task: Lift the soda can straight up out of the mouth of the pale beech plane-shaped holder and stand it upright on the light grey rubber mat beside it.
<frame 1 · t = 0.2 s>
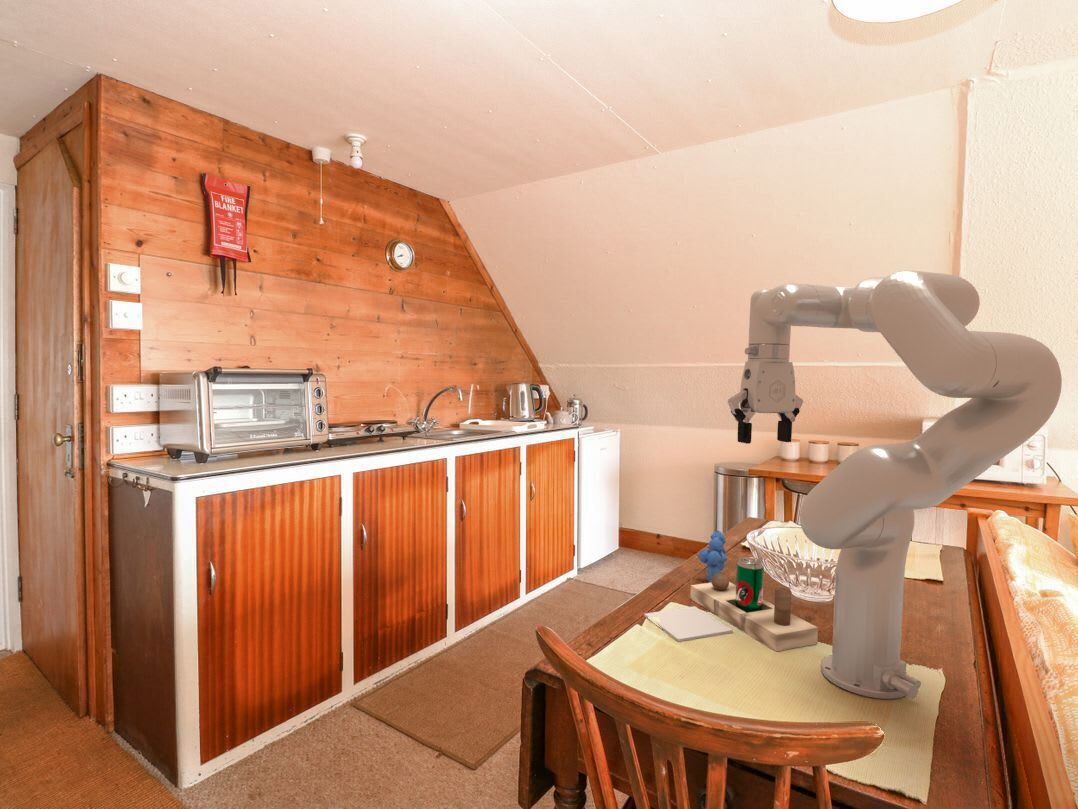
hand: (764, 442, 117), 35 cm above the table, tool pointing down, fingers open, 9 cm apart
grapes: (711, 583, 140), on the table
mat: (687, 624, 116), on the table
soda can: (748, 620, 119), resting in plane holder
plane holder: (748, 619, 119), on the table
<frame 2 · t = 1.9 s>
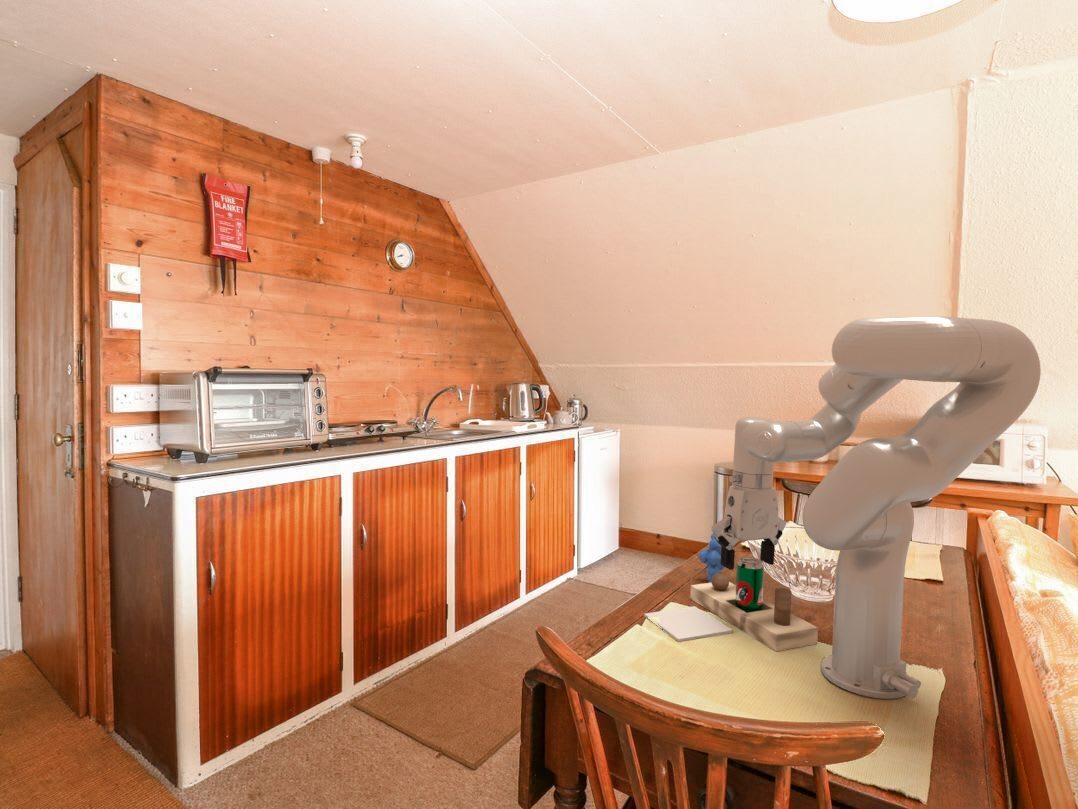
hand: (747, 564, 119), 11 cm above the table, tool pointing down, fingers open, 9 cm apart
nothing on the table moved.
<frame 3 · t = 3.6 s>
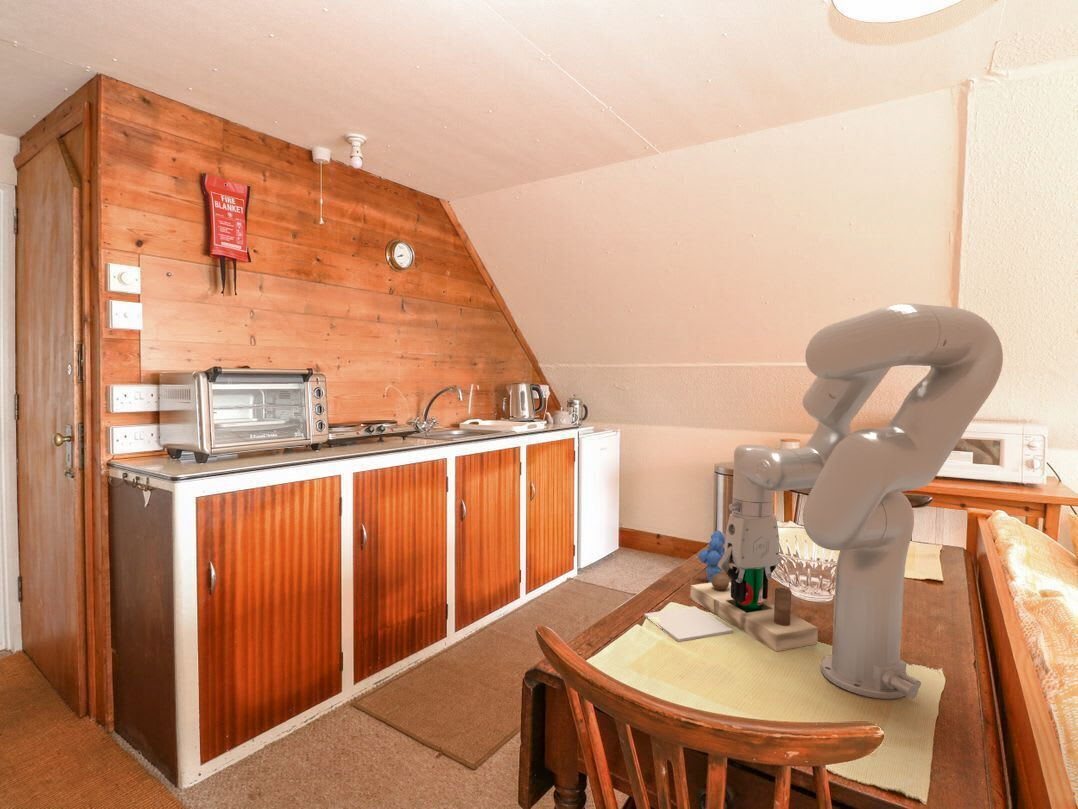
hand: (749, 597, 118), 4 cm above the table, tool pointing down, fingers closed on soda can, 5 cm apart
soda can: (748, 620, 119), resting in plane holder, touching gripper
everything else where it was.
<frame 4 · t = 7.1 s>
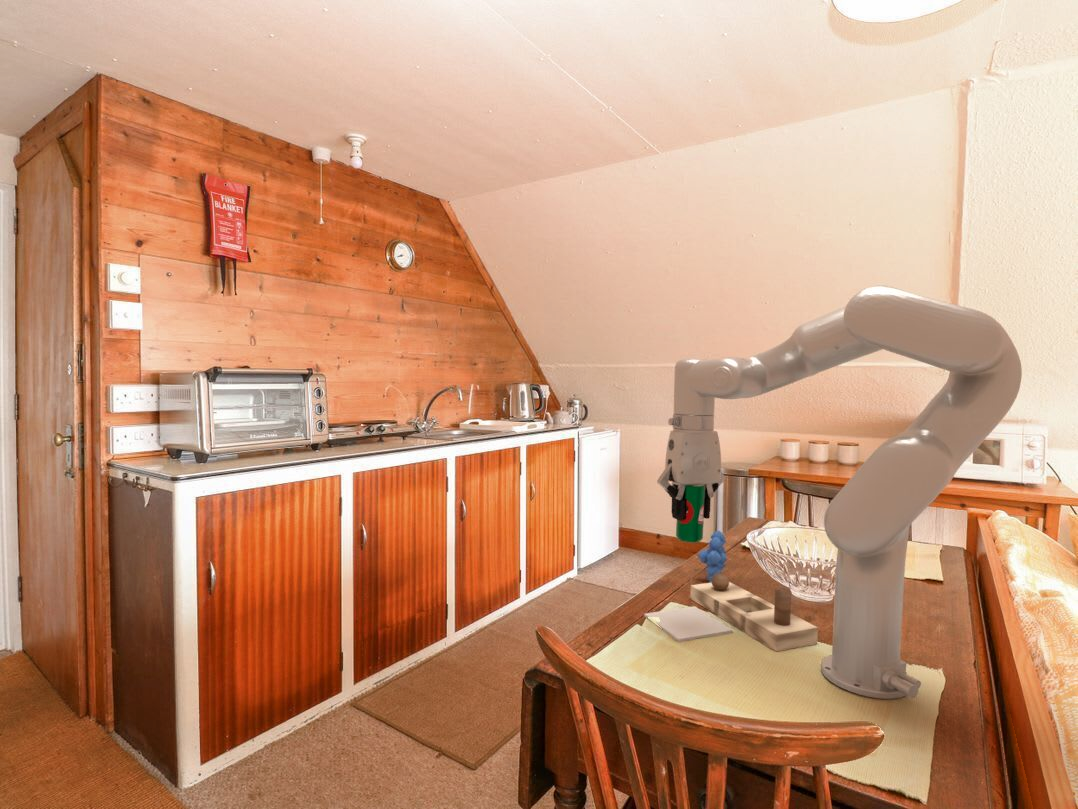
hand: (690, 517, 115), 21 cm above the table, tool pointing down, fingers closed on soda can, 5 cm apart
soda can: (689, 540, 115), point 16 cm above the table, touching gripper
everything else where it was.
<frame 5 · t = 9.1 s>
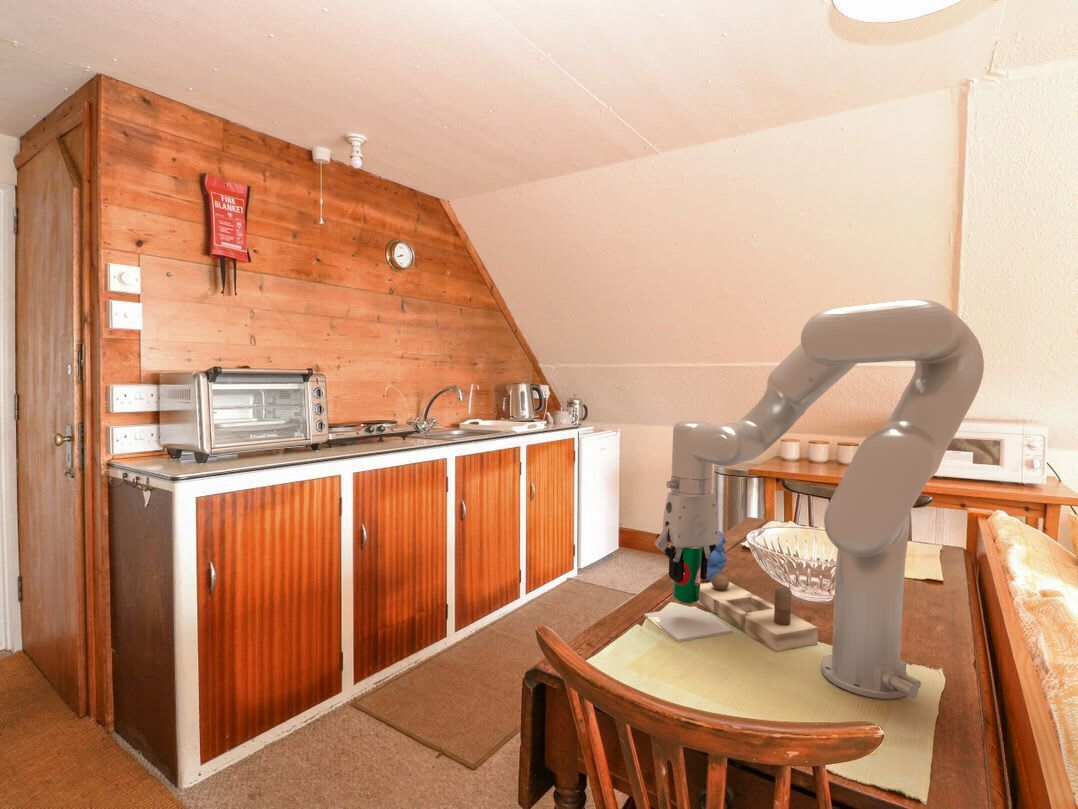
hand: (687, 577, 116), 9 cm above the table, tool pointing down, fingers closed on soda can, 5 cm apart
soda can: (685, 600, 116), point 5 cm above the table, touching gripper
everything else where it was.
when the fingers open (6 cm above the table, at t = 10.6 s): soda can drops 1 cm, resting on mat.
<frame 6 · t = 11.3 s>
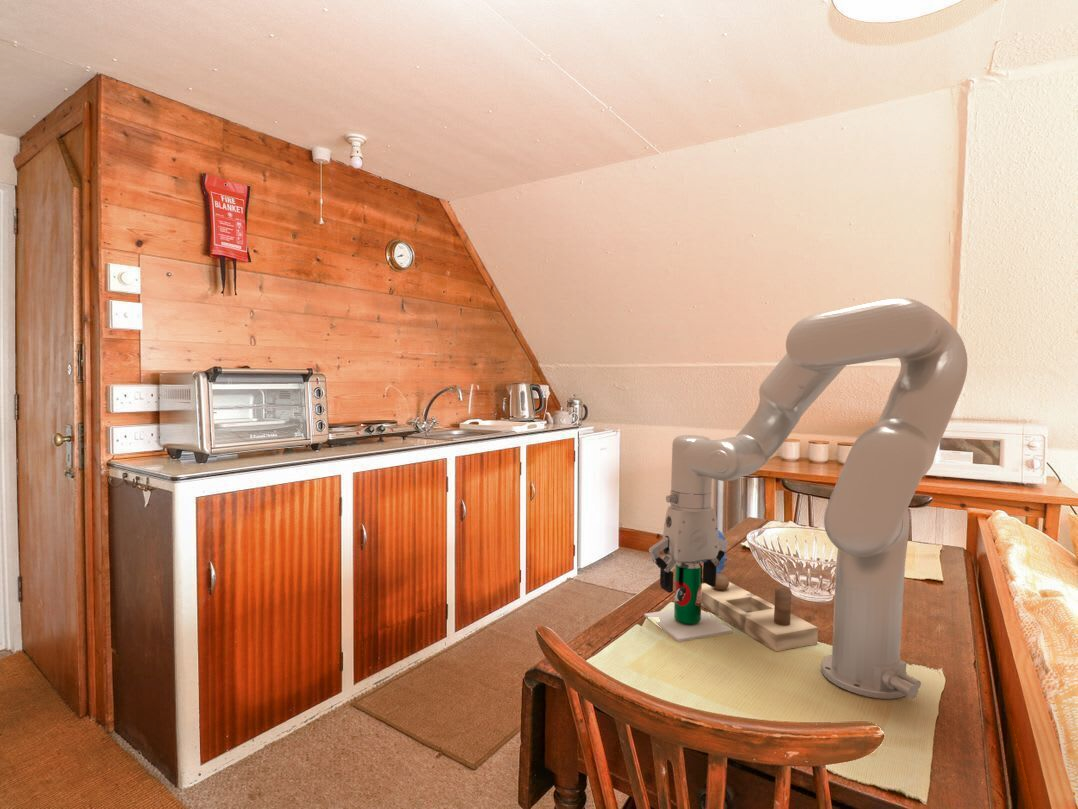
hand: (688, 587, 116), 7 cm above the table, tool pointing down, fingers open, 9 cm apart
soda can: (687, 621, 116), resting on mat
everything else where it was.
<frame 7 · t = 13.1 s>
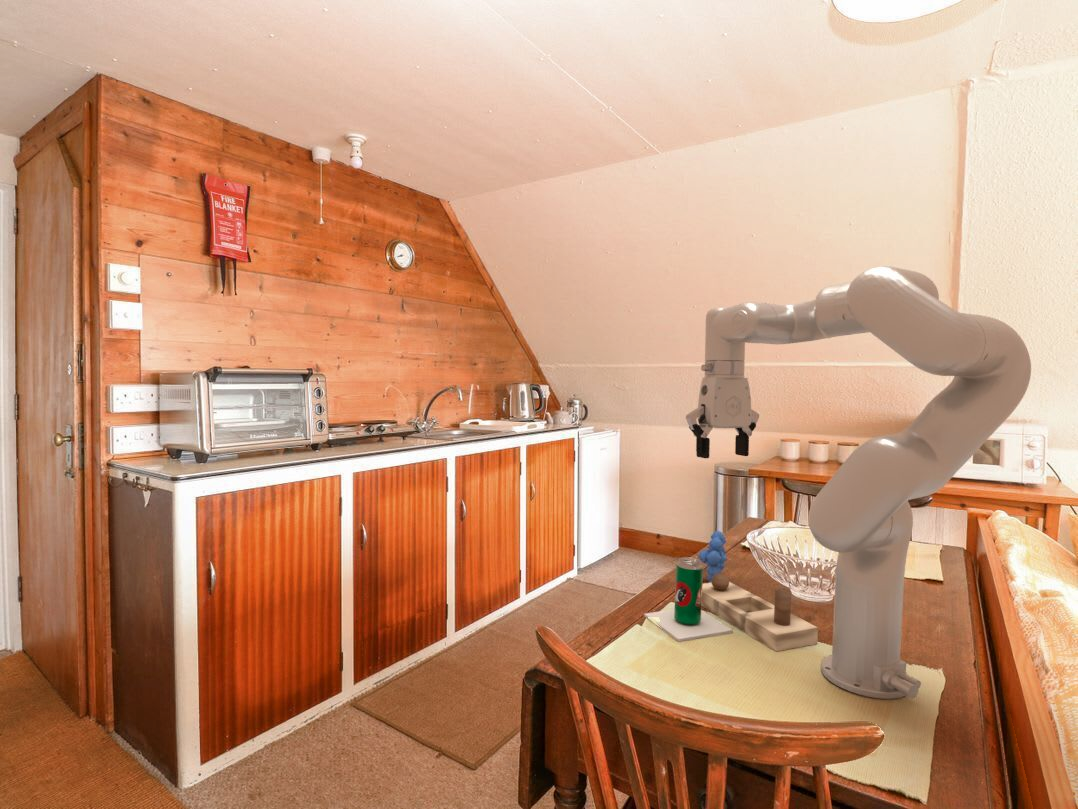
hand: (722, 456, 119), 32 cm above the table, tool pointing down, fingers open, 9 cm apart
nothing on the table moved.
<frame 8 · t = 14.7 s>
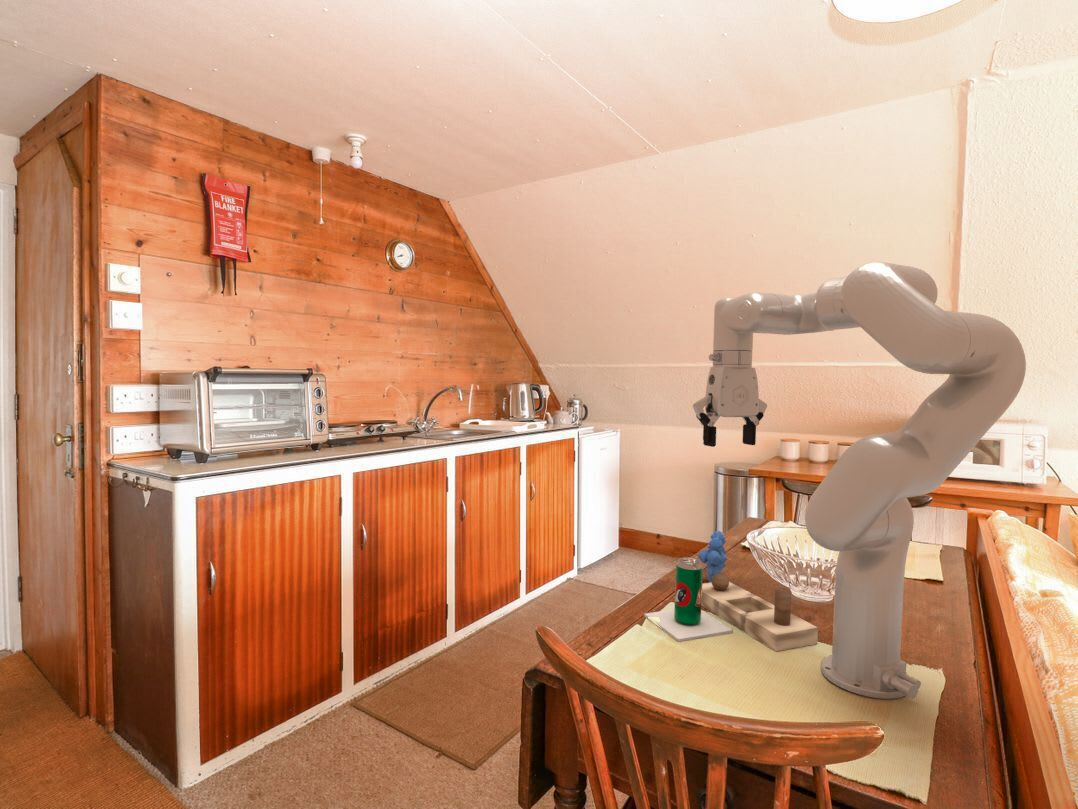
hand: (729, 445, 121), 34 cm above the table, tool pointing down, fingers open, 9 cm apart
nothing on the table moved.
at the end: soda can inside the target area on the mat (0.1 cm from its centre), point 0.3 cm above the mat's base; soda can tilted 0°; soda can touching mat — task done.
